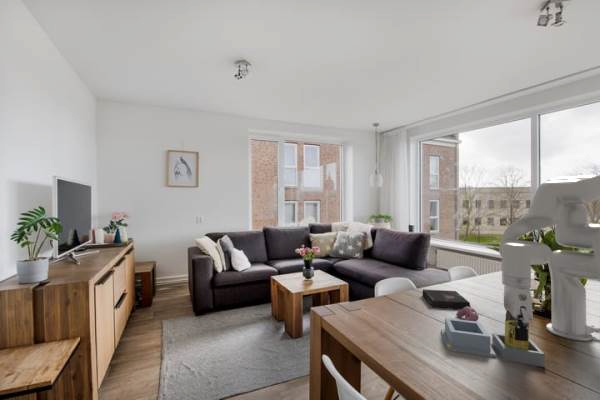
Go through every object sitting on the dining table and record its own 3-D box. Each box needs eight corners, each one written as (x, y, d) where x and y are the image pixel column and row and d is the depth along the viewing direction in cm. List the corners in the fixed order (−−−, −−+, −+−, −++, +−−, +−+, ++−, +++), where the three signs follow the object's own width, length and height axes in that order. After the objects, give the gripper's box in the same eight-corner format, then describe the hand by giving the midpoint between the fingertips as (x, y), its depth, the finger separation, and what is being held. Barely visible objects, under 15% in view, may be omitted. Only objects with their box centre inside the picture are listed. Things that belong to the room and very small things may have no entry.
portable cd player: (471, 311, 128) (471, 302, 128) (432, 308, 131) (432, 300, 131) (457, 298, 144) (457, 291, 144) (422, 296, 147) (422, 289, 147)
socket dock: (482, 337, 102) (482, 321, 102) (496, 357, 89) (495, 339, 89) (441, 331, 107) (440, 316, 107) (447, 350, 94) (447, 332, 94)
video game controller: (474, 330, 111) (482, 315, 110) (463, 324, 112) (471, 309, 111) (464, 320, 121) (472, 306, 120) (454, 314, 122) (462, 301, 121)
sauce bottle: (507, 357, 89) (506, 296, 89) (502, 348, 95) (501, 290, 95) (532, 362, 86) (531, 298, 87) (525, 352, 92) (525, 292, 92)
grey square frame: (528, 349, 94) (528, 337, 94) (544, 367, 84) (544, 353, 84) (492, 344, 97) (492, 333, 97) (503, 360, 87) (503, 348, 87)
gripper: (543, 289, 81) (544, 350, 81) (518, 275, 98) (518, 325, 98) (513, 287, 84) (513, 346, 84) (493, 273, 100) (494, 322, 100)
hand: (516, 334), depth 91 cm, fingers closed on sauce bottle, 6 cm apart
